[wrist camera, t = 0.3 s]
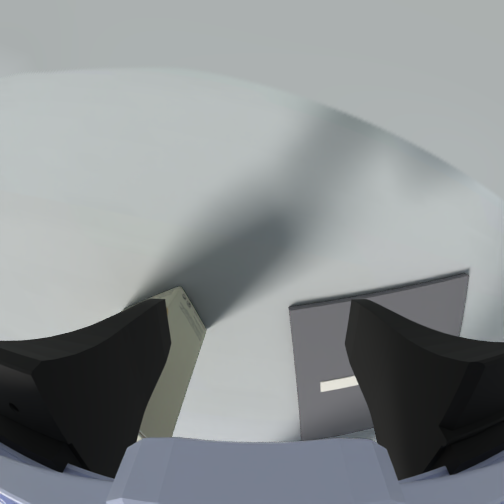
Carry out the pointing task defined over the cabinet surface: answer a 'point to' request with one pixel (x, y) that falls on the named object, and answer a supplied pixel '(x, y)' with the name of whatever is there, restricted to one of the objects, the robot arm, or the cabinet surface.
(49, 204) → the cabinet surface
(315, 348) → the rest pad
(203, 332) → the skincare box
